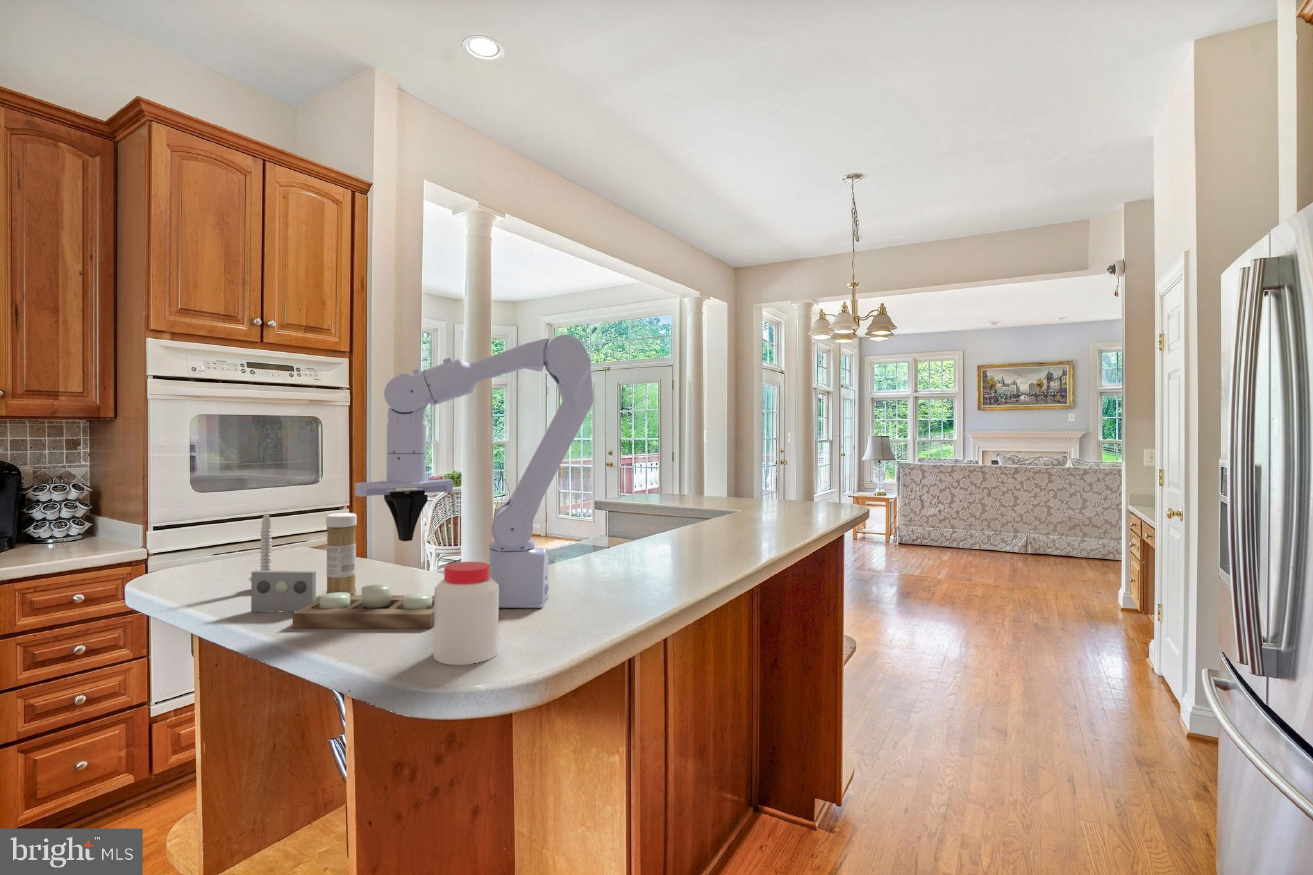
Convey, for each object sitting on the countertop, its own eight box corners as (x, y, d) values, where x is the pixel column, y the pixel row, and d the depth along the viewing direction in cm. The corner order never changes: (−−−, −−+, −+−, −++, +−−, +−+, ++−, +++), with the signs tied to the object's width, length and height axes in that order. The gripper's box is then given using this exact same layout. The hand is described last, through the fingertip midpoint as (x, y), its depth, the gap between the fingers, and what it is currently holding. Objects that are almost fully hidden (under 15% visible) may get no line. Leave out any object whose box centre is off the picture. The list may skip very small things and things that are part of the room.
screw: (266, 585, 113) (288, 587, 111) (241, 591, 108) (264, 594, 107) (267, 510, 112) (289, 512, 111) (242, 514, 108) (265, 515, 106)
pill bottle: (436, 668, 75) (437, 574, 75) (430, 647, 82) (432, 561, 82) (503, 660, 78) (504, 570, 78) (492, 640, 85) (493, 558, 85)
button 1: (354, 608, 96) (354, 592, 96) (342, 616, 92) (342, 599, 92) (327, 608, 96) (327, 592, 96) (314, 616, 92) (314, 599, 92)
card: (315, 610, 98) (315, 571, 97) (311, 612, 96) (312, 572, 96) (255, 610, 97) (255, 570, 97) (250, 612, 96) (250, 572, 96)
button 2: (435, 609, 97) (435, 592, 97) (427, 617, 93) (427, 600, 93) (408, 609, 97) (408, 592, 97) (398, 617, 93) (399, 599, 93)
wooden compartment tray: (451, 608, 100) (451, 595, 100) (430, 628, 90) (431, 614, 90) (326, 607, 99) (327, 594, 99) (292, 627, 89) (292, 613, 89)
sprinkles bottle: (351, 589, 110) (352, 511, 110) (359, 595, 107) (360, 514, 107) (322, 593, 107) (323, 513, 107) (329, 599, 104) (329, 516, 104)
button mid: (395, 600, 96) (395, 584, 96) (385, 607, 92) (385, 590, 92) (368, 600, 96) (368, 583, 96) (356, 607, 92) (356, 590, 92)
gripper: (366, 454, 92) (365, 549, 93) (461, 453, 102) (460, 538, 102) (350, 453, 98) (350, 542, 98) (442, 451, 107) (441, 533, 108)
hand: (405, 540), depth 100 cm, fingers closed
